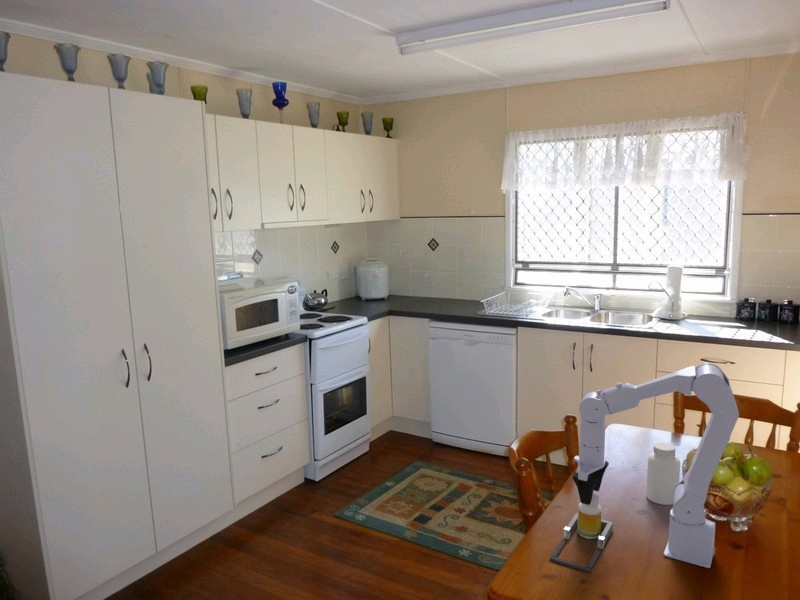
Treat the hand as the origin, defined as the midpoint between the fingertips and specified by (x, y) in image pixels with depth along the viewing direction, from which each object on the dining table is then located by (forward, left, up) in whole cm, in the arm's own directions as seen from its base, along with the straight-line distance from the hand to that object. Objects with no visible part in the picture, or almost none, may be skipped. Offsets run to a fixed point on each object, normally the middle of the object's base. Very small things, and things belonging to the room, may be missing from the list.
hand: (590, 496), depth 145 cm
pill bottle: (-12, -27, -10) cm, 31 cm away
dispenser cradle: (0, 0, -10) cm, 10 cm away
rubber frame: (0, +11, -10) cm, 15 cm away
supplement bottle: (0, 0, -10) cm, 10 cm away
